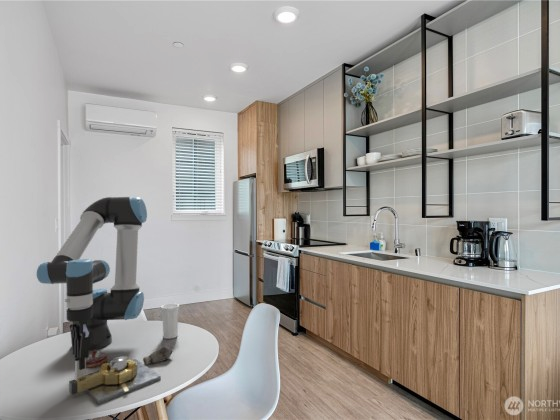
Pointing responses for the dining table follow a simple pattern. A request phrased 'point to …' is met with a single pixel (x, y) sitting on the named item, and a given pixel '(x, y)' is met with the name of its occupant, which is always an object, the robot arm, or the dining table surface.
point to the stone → (158, 355)
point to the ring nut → (104, 377)
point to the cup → (170, 320)
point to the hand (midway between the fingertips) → (80, 377)
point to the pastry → (96, 359)
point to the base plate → (114, 390)
